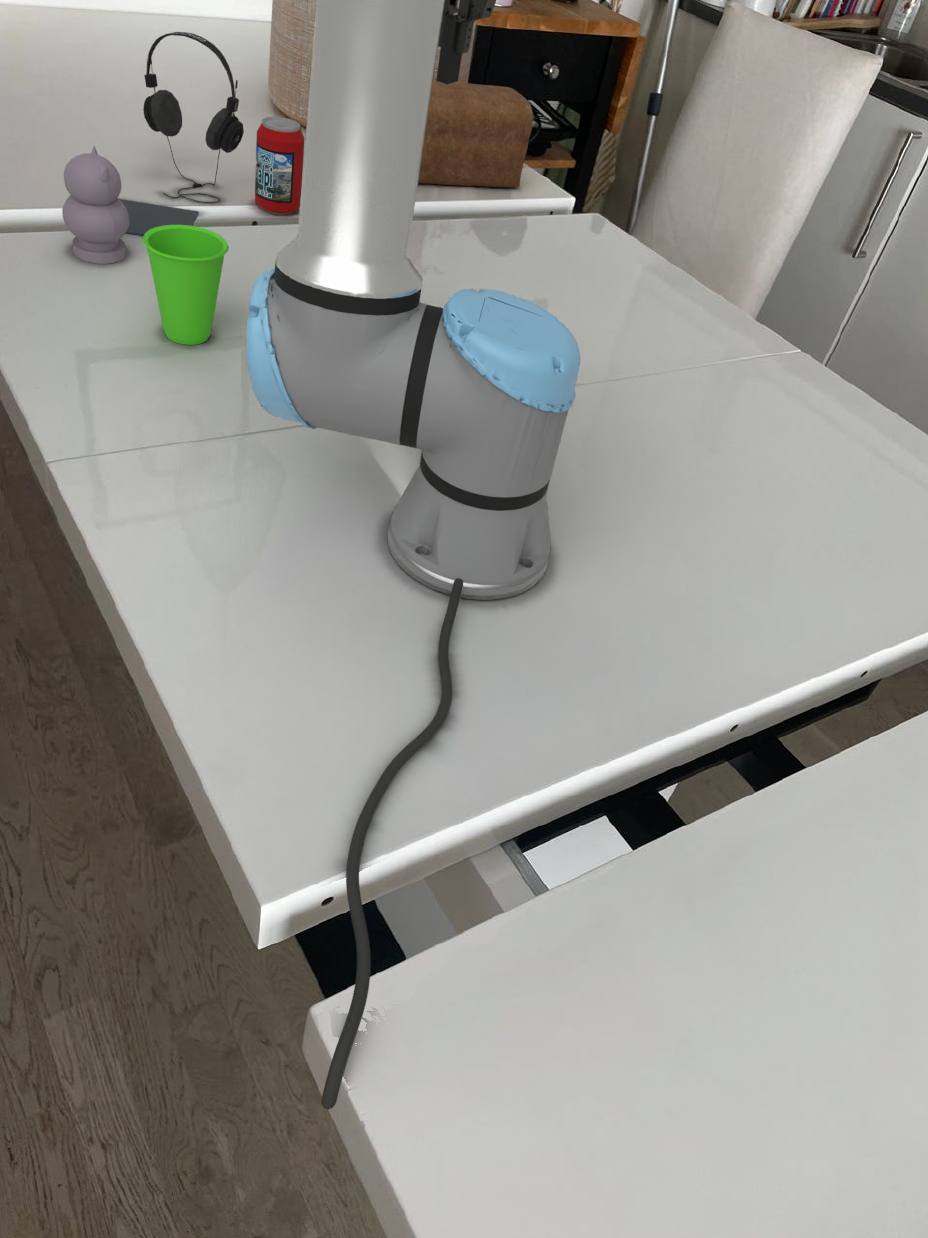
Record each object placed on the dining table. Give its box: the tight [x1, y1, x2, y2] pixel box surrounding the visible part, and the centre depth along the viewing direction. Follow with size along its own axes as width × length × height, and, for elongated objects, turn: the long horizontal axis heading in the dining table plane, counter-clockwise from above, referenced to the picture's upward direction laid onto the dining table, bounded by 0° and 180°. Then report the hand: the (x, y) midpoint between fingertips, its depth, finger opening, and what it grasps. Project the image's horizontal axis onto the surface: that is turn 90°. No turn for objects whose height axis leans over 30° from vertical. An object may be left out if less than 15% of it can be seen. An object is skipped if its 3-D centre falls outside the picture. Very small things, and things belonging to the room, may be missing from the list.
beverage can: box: [254, 116, 305, 216], centre depth 143 cm, size 7×7×12 cm
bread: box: [418, 80, 534, 188], centre depth 166 cm, size 14×34×14 cm, turn 111°
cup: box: [141, 225, 230, 346], centre depth 110 cm, size 9×9×11 cm
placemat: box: [118, 198, 200, 237], centre depth 136 cm, size 11×11×1 cm
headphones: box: [142, 31, 245, 204], centre depth 141 cm, size 15×11×20 cm
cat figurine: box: [61, 145, 129, 265], centre depth 122 cm, size 8×8×12 cm
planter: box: [267, 0, 478, 128], centre depth 177 cm, size 37×37×32 cm
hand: (447, 80), depth 116 cm, fingers closed
